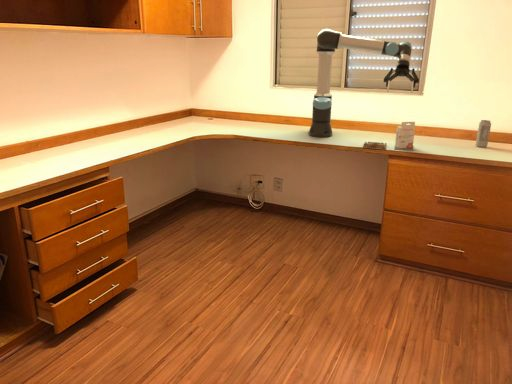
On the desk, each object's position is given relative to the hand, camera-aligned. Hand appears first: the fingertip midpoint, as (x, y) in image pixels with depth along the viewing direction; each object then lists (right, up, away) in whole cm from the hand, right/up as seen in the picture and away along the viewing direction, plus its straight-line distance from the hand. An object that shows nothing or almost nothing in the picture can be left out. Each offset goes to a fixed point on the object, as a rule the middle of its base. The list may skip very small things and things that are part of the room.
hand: (399, 90), depth 253 cm
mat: (-1, -35, -11) cm, 37 cm away
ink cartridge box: (-2, -35, -11) cm, 36 cm away
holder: (-17, -33, -6) cm, 38 cm away
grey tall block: (+45, -34, -7) cm, 57 cm away
